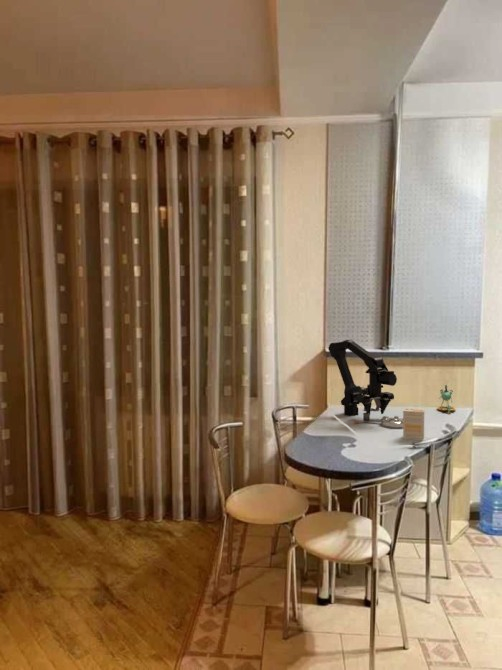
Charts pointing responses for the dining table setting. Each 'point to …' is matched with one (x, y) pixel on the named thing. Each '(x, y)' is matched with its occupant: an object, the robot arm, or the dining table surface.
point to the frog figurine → (446, 396)
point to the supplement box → (413, 424)
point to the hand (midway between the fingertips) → (375, 414)
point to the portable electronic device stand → (378, 405)
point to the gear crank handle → (386, 421)
